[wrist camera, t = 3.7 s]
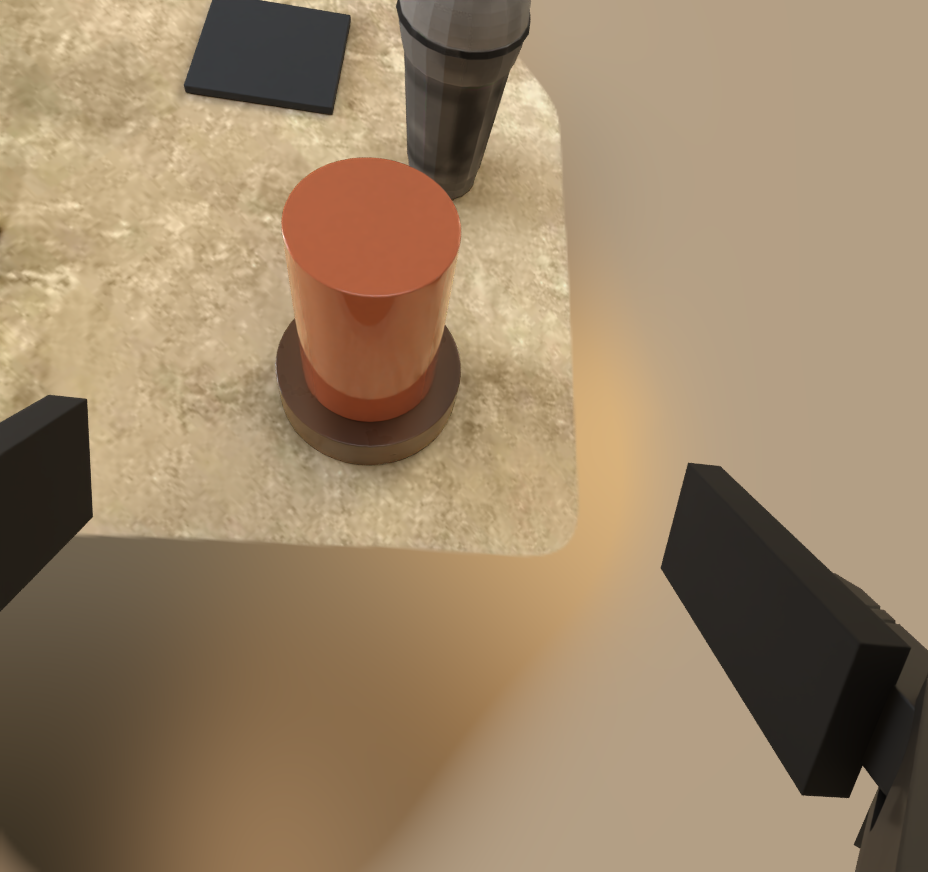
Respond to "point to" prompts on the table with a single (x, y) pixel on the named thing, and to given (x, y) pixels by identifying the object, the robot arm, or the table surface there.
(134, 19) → the table surface
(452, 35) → the beverage cup
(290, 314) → the table surface
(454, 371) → the saucer
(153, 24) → the table surface
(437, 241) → the terracotta cylinder
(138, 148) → the table surface
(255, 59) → the mat
